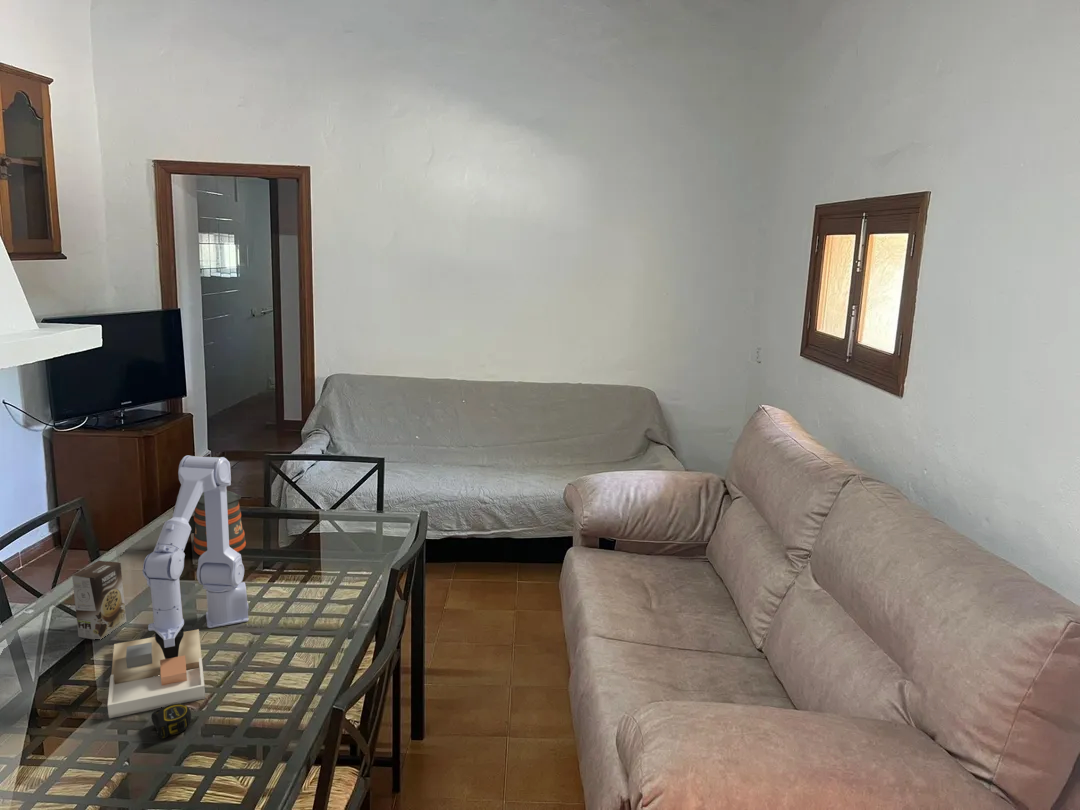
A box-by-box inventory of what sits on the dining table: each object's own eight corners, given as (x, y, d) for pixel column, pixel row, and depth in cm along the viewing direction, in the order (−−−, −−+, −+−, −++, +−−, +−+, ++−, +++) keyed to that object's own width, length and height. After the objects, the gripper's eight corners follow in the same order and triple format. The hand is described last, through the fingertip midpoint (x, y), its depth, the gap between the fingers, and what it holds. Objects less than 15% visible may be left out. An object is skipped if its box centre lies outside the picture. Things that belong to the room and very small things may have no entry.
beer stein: (171, 559, 234) (166, 494, 229) (187, 539, 248) (181, 477, 243) (239, 557, 236) (235, 493, 232) (250, 537, 250) (247, 476, 246)
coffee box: (101, 641, 190) (94, 578, 186) (77, 637, 191) (70, 575, 187) (128, 622, 199) (121, 562, 195) (105, 619, 200) (98, 559, 196)
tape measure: (151, 725, 161) (149, 709, 160) (188, 714, 164) (186, 698, 163) (157, 744, 155) (155, 727, 154) (195, 732, 159) (193, 715, 158)
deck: (199, 636, 193) (198, 629, 193) (202, 669, 180) (201, 661, 180) (115, 651, 186) (114, 644, 185) (111, 686, 173) (110, 678, 172)
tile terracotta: (185, 663, 178) (185, 655, 177) (187, 680, 174) (186, 672, 173) (161, 668, 176) (160, 659, 175) (161, 685, 172) (160, 677, 171)
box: (202, 669, 180) (201, 657, 179) (205, 698, 169) (204, 685, 169) (111, 687, 172) (110, 674, 172) (108, 718, 162) (107, 705, 161)
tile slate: (152, 652, 182) (151, 642, 182) (152, 663, 178) (151, 653, 177) (127, 656, 180) (126, 646, 180) (127, 668, 176) (126, 657, 175)
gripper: (146, 592, 179) (152, 647, 182) (145, 623, 166) (151, 681, 169) (181, 587, 182) (185, 641, 185) (183, 617, 169) (188, 674, 172)
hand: (171, 660), depth 177 cm, fingers closed
